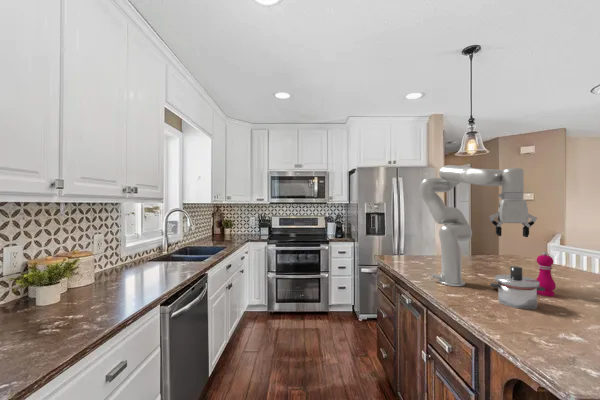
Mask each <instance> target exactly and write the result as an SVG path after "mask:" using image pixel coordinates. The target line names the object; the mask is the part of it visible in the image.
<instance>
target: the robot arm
mask: <svg viewBox="0 0 600 400" xmlns="http://www.w3.org/2000/svg"><path fill="white" fill-rule="evenodd" d="M438 175H439V177H426V178H424V179H423V180H422V181H421V183H420V185H419V193H420V196H421V198H422V200H423V201H424V202H425V204H426V206H427V208H428V210H429V212H430V214H431V215H432V217H433V220H434V221H435V223H436V224H439V225H442V226H441V227H440V228H439V231H438V237H439V241H440V256H441V261H440V262H441V270H440V271H441V272H440V273H439V274H433V273H432V274H431V278H432V279H436V280H438V283H440V284H441V285H445V286H449V287H463V286H465V285H466V282H465V281H464V280H462V278H463V275H462V272H463V271H462V268H463V267H462V248H461V246H460V244H459V243H460V242H467V241H469V240H471V239H472V236H473V230H472V228H471V226H470V224H469V222H468V221H467V219H466V217H465V216H464V214H463V212H462V211H461V210H460V209H459V208H457V207H453V206H451V207H450V206H449V207H448V206H447V205H446V204H445V202H444V200H443V199H442V197H440V196H439V194H437V193H448V192H450V191H451V190H452V189H454V188H455V187H456V186H457V185H458V184H459V185H460V183H462V184H468V185H469V184H470V185H476V186H485V187H487V186H489V187H490V186H491V187H501V193H499V194H498V195H497V197H498V198H500V199H499V203H498V207H497V208H498V210H497V212H496V213H494V214H491V215H489V216H488V218H489V221H490V222H491V224H493V225H494V226H495V234H496V235H497V237H502V225H503V224H521V225H522V226H523V227H522V237H525V238H528V237H529V235H530V228H531V227H532V226H533V225H535V223H536V221H537V219H538V217H536V216H534V215H532V214H529V209H528V203H527V200H526V199H524V196H525V195H524V191H525V190H524V185H525V182H524V181H525V179H524V176H525V171H524V169H523V168H520V167H511V168H510V167H508V168H505V169H492V168H478V167H476V168H474V167H471V166H470V165H469V166H468V165H455V164H447V165H443V166H442V167H440V168H439V171H438ZM495 218H497V220H495ZM529 220H530V221H529Z"/></svg>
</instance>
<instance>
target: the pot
mask: <svg viewBox="0 0 600 400" xmlns="http://www.w3.org/2000/svg"><path fill="white" fill-rule="evenodd" d="M490 286H491V287H492V288H495V287H497V288H498V291H497V293H498V300H497V301H498V302H499V303H500V304H501V305H504V306H507V307H509V306H510V308H513V307H514V309H518V308H521V309H520V310H536V309H538V294H537V290H538V291H545V288H544V287H542V286H539V287H536V288H523V287H515V286H509V285H505V284H501V283H499V282H496V283H495V282H490Z"/></svg>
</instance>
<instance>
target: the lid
mask: <svg viewBox="0 0 600 400" xmlns="http://www.w3.org/2000/svg"><path fill="white" fill-rule="evenodd" d="M509 268H510V269H509V272H510V274H497V275H495V276H494V281H495V282H496V283H498V282H499V283H501V284H505V285H509V286H515V287H523V288H536V287H539V281H538V280H536V279H535V278H532V277H527V276H524V275H523V267H521V266H516V265H515V266H514V265H513V266H510V267H509Z"/></svg>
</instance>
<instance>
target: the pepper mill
mask: <svg viewBox="0 0 600 400" xmlns="http://www.w3.org/2000/svg"><path fill="white" fill-rule="evenodd" d="M536 263H537V265H538V269H539V271H538V272H539V274H538V275H537V277H536V279H535V280H538V281H539V286H542V287H544V288H545V291H538V290H537V295H540V296H543V297H551V298H552V297H555V291H554V290H555V289H556V283H555V281H554V278H553V276H552V270H553V266H552V265H553V264H554V258H553V257H551V256H549V255H548V252H547V251H543V252H542V254H540V255H538V256H537V257H536Z"/></svg>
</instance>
